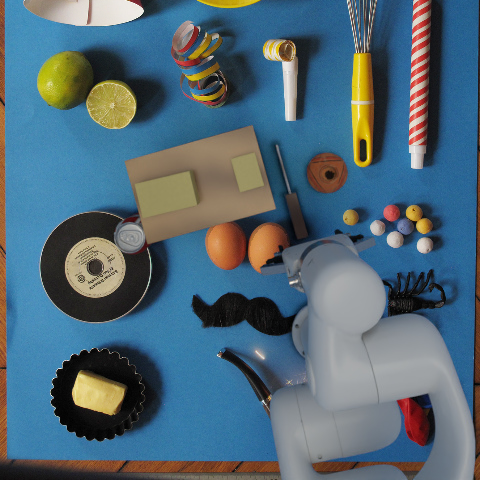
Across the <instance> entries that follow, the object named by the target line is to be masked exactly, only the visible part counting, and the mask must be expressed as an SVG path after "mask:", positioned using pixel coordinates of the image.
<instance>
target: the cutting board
mask: <svg viewBox="0 0 480 480" xmlns="http://www.w3.org/2000/svg"><path fill="white" fill-rule="evenodd" d="M253 152H255V155H256V158H257V162H258V165H259V169H260V172H261V176H262V179H263V183H264V186H262V187H258V188H254V189H251V190H247V191H244V192H240V191H239V187H238V183H237V180H236V176H235V173H234V169H233V166H232V162H231V159H232V158H236V157H239V156H243V155H246V154H250V153H253ZM124 166H125V169H126V172H127V175H128V176H127V177H128V179H129V182H130V183H129V184H130V187H131V190H132V195H133V197H134V201H135V204H136V208H137V211H138V212H139V215H140V219H141V223H142V226H143V230H144V233H145V237H146V240H147V244H151V243H152V244H154V243H158V242H161V241H165V240H169V239H171V238H173V239H174V238H176V237H179V236H183V235H187V234H192V233H194V232H198V231H201V230H205V229H210V228H213V227H216V226H220V225H223V224H226V223H230V222H234V221H237V220H242V219H245V218H249V217H252V216H256V215H260V214H263V213H266V212H270V211H273V210H276V209H277V206H276V203H275V200H274V196H273V192H272V189H271V185H270V182H269V178H268V173H267V171H266V167H265V164H264V161H263V157H262V154H261V150H260V146H259V142H258V138H257V135H256V132H255V128H254V125H253V124H251V125H248V126H247V125H246V126H244V127H240V128H236V129H233V130H229V131H225V132H222V133H219V134H215V135H212V136H209V137H204V138H200V139H198V140H195V141H190V142H187V143H184V144H183V143H182V144H179V145H177V146H173V147H169V148H165V149H162V150H159V151H155V152H152V153H148V154H144V155H140V156H137V157H134V158H129V159H127V160H124ZM191 170H193V173H194V178H195V182H196V186H197V190H198V194H199V198H200V203H199V204H198V205H197V206H193V207H189V208H184V209H180V210H176V211H172V212H167V213H163V214H159V215H155V216H151V217H146V218H143V217H142V213H141V209H140V205H139V201H138V196H137V192H136V188H135V184H137V183H141V182H145V181H149V180H153V179H157V178H162V177H166V176H170V175H174V174H178V173H182V172H187V171H191ZM138 212H137V213H138ZM152 244H151V245H152Z"/></svg>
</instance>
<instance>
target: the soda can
mask: <svg viewBox="0 0 480 480" xmlns="http://www.w3.org/2000/svg"><path fill="white" fill-rule="evenodd" d="M113 240H114V243H115V246H116V247H117V249H118V250H120V251H121V252H122V253H124V254H127V255H131V256H133V255H138V254H141V253H143V252H144V251H145V250H147V249H148V248H149V247H150V246H151V245H153V243H151V244H147V240H146V237H145V233H144V230H143V226H142V223H141V219H140V215H139V212H136V213H133V214H132V215H130V216H128V217H126V218H123V219H122V220H120V221H119V222H118V224H117V225H116V227H115V229H114V232H113Z"/></svg>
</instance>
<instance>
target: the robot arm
mask: <svg viewBox="0 0 480 480" xmlns="http://www.w3.org/2000/svg"><path fill="white" fill-rule="evenodd" d="M333 232H334V234H332V235H328V236H325V237H321V238H317V239H314V240H310V241H306V242H303V243H299V244H296V245H292V246H289V247H287V248H284V246H283V244H279V245H277V247H278V251H276V252H274V253H273V257H271V258H267V259H266V260H265V263H264V264H262V265H261V266H260V267H259V270H260V273H261V276H262V277H265V276H270V275H279V274H286V276H287V281H288V284H289V287H290V289H292V288H294V289H295V290H296V291H298V292H300V293H303V294H305V295H306V298H307V304H306V305H305V306H303V307H302V308H300V310H299V311H298V312H297V314H296V315H295V317H294V319H293V322H292V326H291V337H292V342H293V345H294V346H295V349H296V350H297V351H298V352H299V354H300V355H301V356H302V357H303V358H304V359H305V360H304V361H305V363H304V364H305V376H306V381H305V382H301V383H295V384H292V385H287V386H283V387H281V388H278V389H277V390H276V391H274V392H273V394H272V396H271V397H270V400H269V401H270V402H269V417H270V418H269V419H270V424H271V429H272V430H271V431H272V435H273V436H272V437H273V442H274V448H275V452H276V457H277V463H278V468H279V472H280V478H281V480H408V479H409V478H408V477H407V476H406V474H405V473H404V472H403V471H402V470H401V469H400V468H398V467H397V466H395V465H393V464H374V465H367V466H361V467H355V468H351V469H345V470H341V471H337V472H332V473H326V474H322V473H319V472H318V471H317V470H315V468H314V467H313V466H314V465H313V464H317V463H322V462H327V461H331V460H337V459H345V458H350V457H354V456H359V455H365V454H368V453H373V452H376V451H379V450H382V449H384V448H386V447H388V446H390V445H392V444H393V443H394V442H395V441H396V440H397V439H398V437H399V435H400V433H401V430H402V415H401V410H400V406H399V403H398V401H400V400H403V399H409V398H413V397H418V396H423V395H428V397H429V401H430V404H431V406H432V407H431V408H432V411H433V416H434V440H433V443H432V448H431V450H430V452H429V455H428V457H427V459H426V461H425V462H424V464H423V466H422V467H421V469H420V470H419V471H418V472H417V474H416V475H415V476H414V477H413V478H412V479H411V480H474V474H475V464H476V436H475V428H474V426H475V425H474V421H473V418H472V413H471V410H470V407H469V403H468V401H467V398H466V395H465V393H464V390H463V386H462V384H461V381H460V379H459V375H458V372H457V370H456V367H455V364H454V362H453V358H452V356H451V354H450V350H449V349H448V347H447V344H446V343H445V340H444V339H443V337H442V334H441V333H440V331H439V329H438V328H437V327H436V326H435V325H434V323H432V321H430V320H429V319H428V318H427V317H425V316H423V315H420V314H416V313H401V314H396V315H391V316H388V317H387V316H386V317H383V314H384V313H385V308H386V305H387V292H386V289H385V284H384V282H383V280H382V278H381V276H380V275H379V273H378V272H377V271H376V270H375V269H374V268H373V267H372V266H371V265H369V264H368V263H367V262H366V261H365V260H363V259H362V258H361V257H360V255H359V253H362V252H363V251H366V250H368V249H370V248H373V247H375V246H376V245H377V243H376V239H375V236H373V235H371V236H369V235H366V236H364V234H361V233H359V234H356V235H352V233H351V232H343V231H342V230H340V229H339V228H337V229H335V230H334V231H333Z"/></svg>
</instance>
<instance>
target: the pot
mask: <svg viewBox="0 0 480 480" xmlns="http://www.w3.org/2000/svg"><path fill="white" fill-rule="evenodd" d="M348 170H349V169H348V166H347V164H346V162H345V160H344V159H343V158H342V157H341V156H340V155H337V154H336V153H332V152H322V153H318V154H316V155H314V156H313V157H312V158H311V159H310V160H309V162H308V165H307V167H306V179H307V181H308V183H309V185H310V187H312V189H313V190H315V191H316V192H318V193H322V194H332V193H335V192H336V193H337V191H339V190H341V189H342V188H343V187H344V185H345V184H346V182H347V180H348V176H349V171H348Z"/></svg>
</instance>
